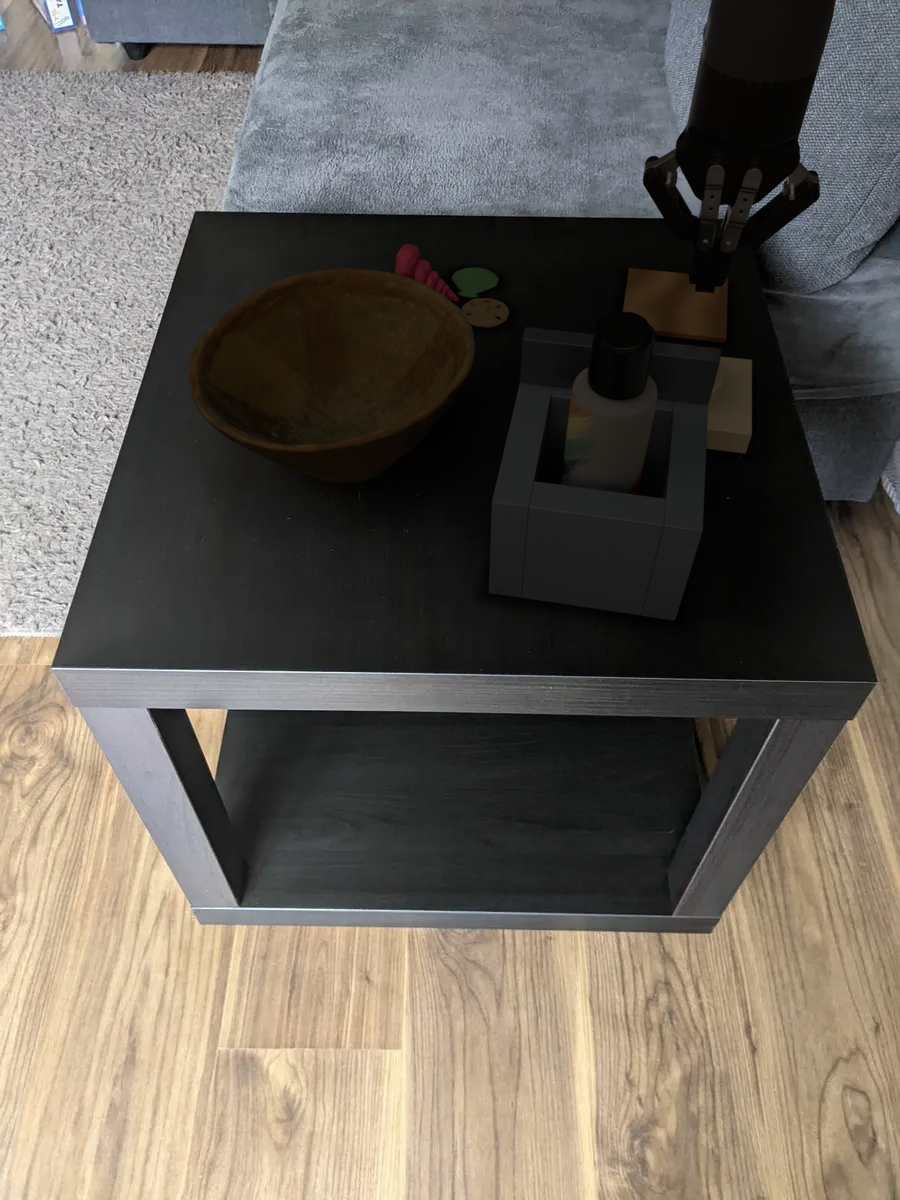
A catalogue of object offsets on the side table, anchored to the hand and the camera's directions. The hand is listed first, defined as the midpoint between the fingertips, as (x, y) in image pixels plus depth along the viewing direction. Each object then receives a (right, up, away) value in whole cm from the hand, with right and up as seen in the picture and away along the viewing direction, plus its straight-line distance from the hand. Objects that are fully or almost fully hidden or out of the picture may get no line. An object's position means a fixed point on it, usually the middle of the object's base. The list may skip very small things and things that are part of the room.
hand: (704, 286), depth 73 cm
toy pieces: (-20, +5, +20) cm, 29 cm away
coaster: (+2, +4, +19) cm, 19 cm away
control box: (0, -7, +10) cm, 12 cm away
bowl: (-29, -11, +8) cm, 32 cm away
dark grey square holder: (-9, -20, 0) cm, 22 cm away
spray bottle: (-9, -20, +1) cm, 22 cm away
